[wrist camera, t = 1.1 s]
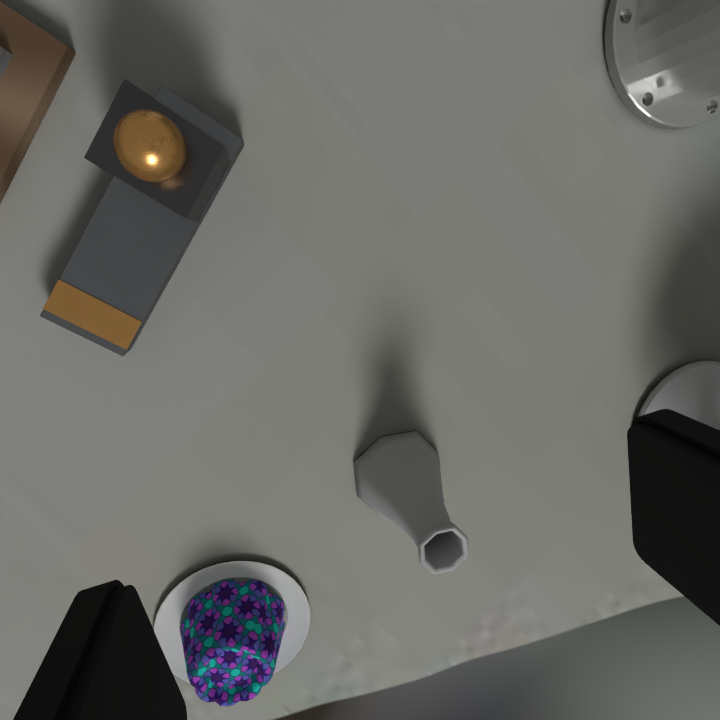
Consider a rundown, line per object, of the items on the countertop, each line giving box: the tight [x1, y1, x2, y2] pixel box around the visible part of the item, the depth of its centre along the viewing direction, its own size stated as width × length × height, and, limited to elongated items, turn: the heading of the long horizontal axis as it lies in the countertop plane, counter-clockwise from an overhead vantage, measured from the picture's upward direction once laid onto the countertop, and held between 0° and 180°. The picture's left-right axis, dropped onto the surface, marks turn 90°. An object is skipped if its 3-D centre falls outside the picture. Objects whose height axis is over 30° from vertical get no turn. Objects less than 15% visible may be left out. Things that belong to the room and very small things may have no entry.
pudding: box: [154, 561, 310, 706], centre depth 36 cm, size 12×12×5 cm
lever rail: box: [40, 85, 244, 356], centre depth 29 cm, size 15×5×2 cm, turn 148°
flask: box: [354, 431, 468, 575], centre depth 33 cm, size 7×7×10 cm
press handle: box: [84, 80, 230, 221], centre depth 24 cm, size 4×5×8 cm
